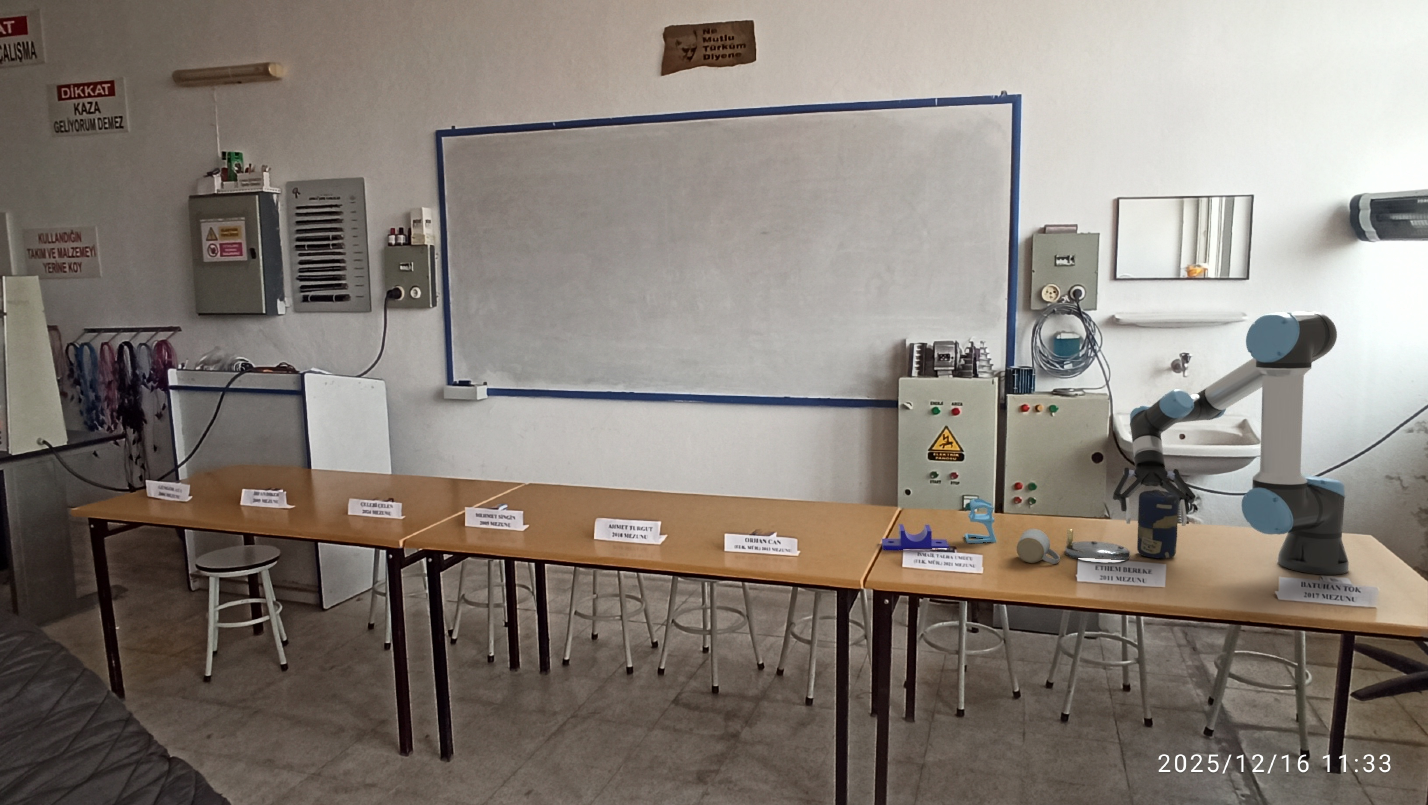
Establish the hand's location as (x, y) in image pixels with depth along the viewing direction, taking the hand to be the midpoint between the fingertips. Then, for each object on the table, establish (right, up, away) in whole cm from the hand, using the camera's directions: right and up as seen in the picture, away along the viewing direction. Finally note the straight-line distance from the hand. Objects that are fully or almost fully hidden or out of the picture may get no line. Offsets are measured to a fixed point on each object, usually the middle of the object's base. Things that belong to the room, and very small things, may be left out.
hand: (1156, 522), depth 252 cm
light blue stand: (-41, -8, +20) cm, 46 cm away
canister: (+1, -9, +2) cm, 10 cm away
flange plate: (-14, -9, +4) cm, 17 cm away
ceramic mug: (-32, -10, 0) cm, 33 cm away
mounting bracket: (-61, -9, +15) cm, 63 cm away
